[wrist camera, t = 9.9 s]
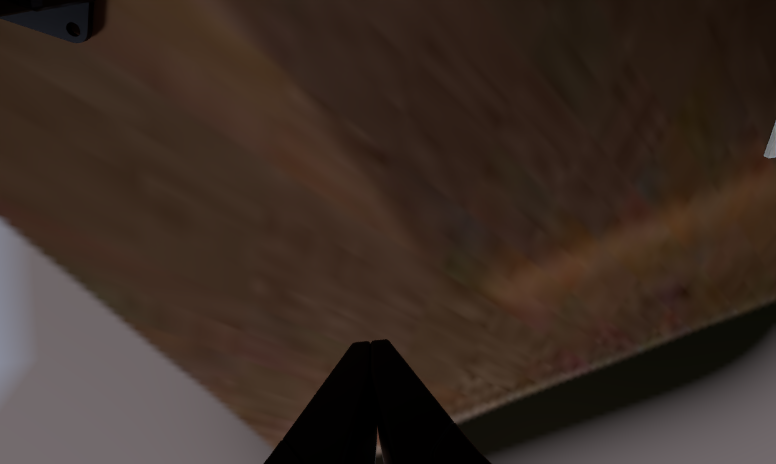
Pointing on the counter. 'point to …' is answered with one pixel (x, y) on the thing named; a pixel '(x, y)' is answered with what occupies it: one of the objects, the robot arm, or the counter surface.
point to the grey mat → (771, 145)
